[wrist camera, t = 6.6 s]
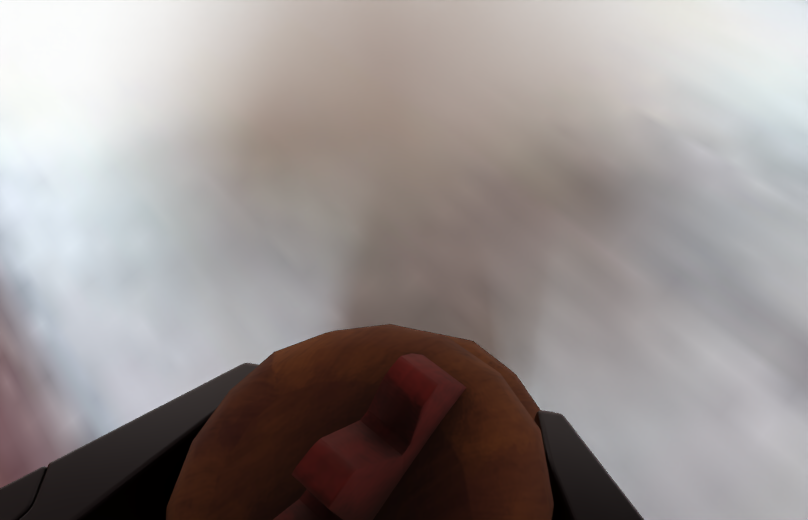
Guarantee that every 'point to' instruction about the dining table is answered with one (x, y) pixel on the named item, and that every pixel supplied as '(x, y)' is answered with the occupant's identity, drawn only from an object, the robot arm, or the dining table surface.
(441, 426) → the wooden figurine
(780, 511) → the dining table surface
